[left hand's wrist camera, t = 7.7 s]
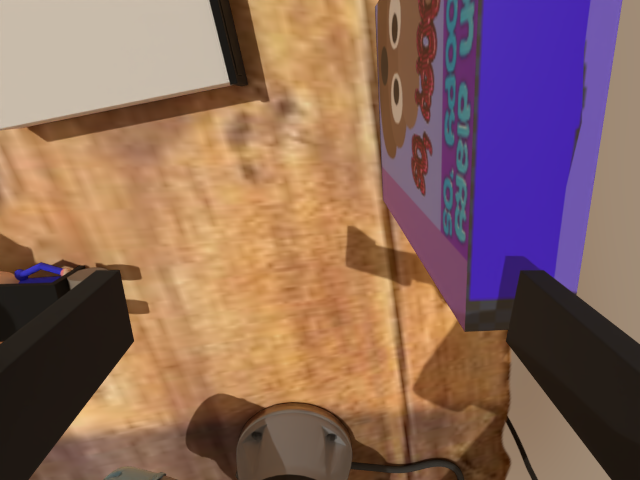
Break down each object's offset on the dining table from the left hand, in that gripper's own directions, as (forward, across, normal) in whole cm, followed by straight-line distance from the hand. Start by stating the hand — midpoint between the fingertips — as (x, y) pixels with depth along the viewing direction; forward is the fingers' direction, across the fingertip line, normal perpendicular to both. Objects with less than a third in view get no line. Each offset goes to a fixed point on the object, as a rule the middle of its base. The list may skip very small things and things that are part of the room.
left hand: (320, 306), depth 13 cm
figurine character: (+28, -29, -13) cm, 42 cm away
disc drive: (+28, -19, +14) cm, 37 cm away
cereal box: (+28, +8, +6) cm, 29 cm away
